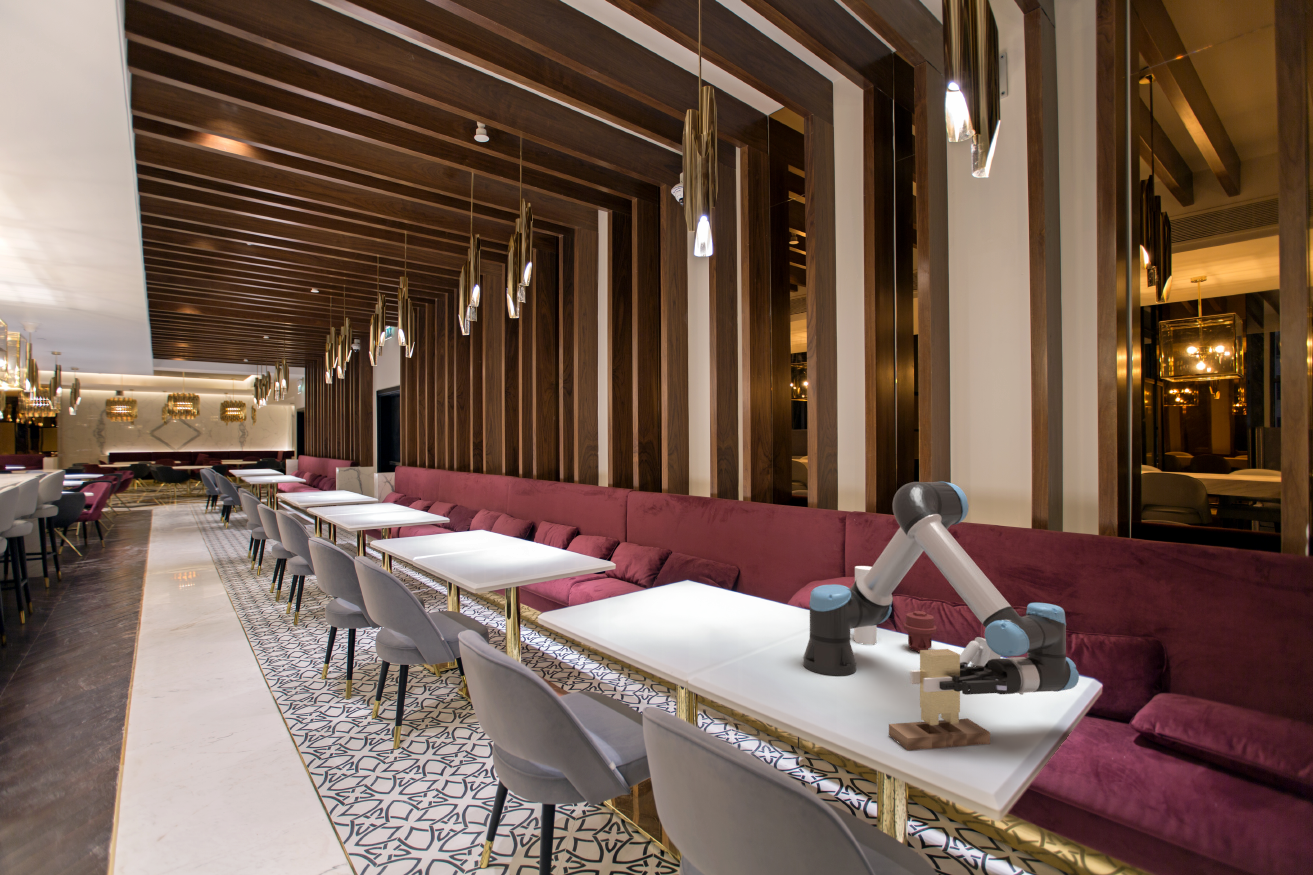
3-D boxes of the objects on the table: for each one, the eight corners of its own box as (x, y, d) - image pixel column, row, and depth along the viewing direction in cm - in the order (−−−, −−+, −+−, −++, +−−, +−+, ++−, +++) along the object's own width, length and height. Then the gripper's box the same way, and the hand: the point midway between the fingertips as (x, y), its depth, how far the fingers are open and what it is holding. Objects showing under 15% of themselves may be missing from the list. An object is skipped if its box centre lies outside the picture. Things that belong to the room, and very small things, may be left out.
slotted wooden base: (907, 750, 128) (907, 738, 128) (888, 735, 135) (888, 723, 135) (989, 743, 132) (989, 731, 132) (967, 729, 139) (967, 718, 139)
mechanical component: (932, 647, 201) (940, 656, 191) (900, 644, 203) (906, 653, 193) (932, 609, 201) (940, 617, 192) (900, 607, 203) (906, 614, 194)
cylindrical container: (876, 639, 208) (876, 566, 209) (876, 645, 201) (877, 570, 202) (854, 637, 210) (855, 565, 211) (854, 643, 203) (854, 568, 204)
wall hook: (947, 662, 184) (954, 630, 184) (978, 670, 184) (985, 638, 185) (962, 671, 176) (970, 638, 176) (995, 680, 176) (1003, 646, 177)
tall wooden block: (931, 725, 131) (931, 655, 131) (920, 718, 135) (920, 650, 135) (960, 723, 132) (959, 654, 133) (947, 716, 136) (947, 648, 137)
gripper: (1041, 707, 129) (943, 714, 124) (982, 679, 145) (895, 684, 141) (1040, 671, 129) (943, 677, 124) (982, 647, 146) (895, 651, 141)
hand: (918, 681), depth 133 cm, fingers closed on tall wooden block, 4 cm apart
